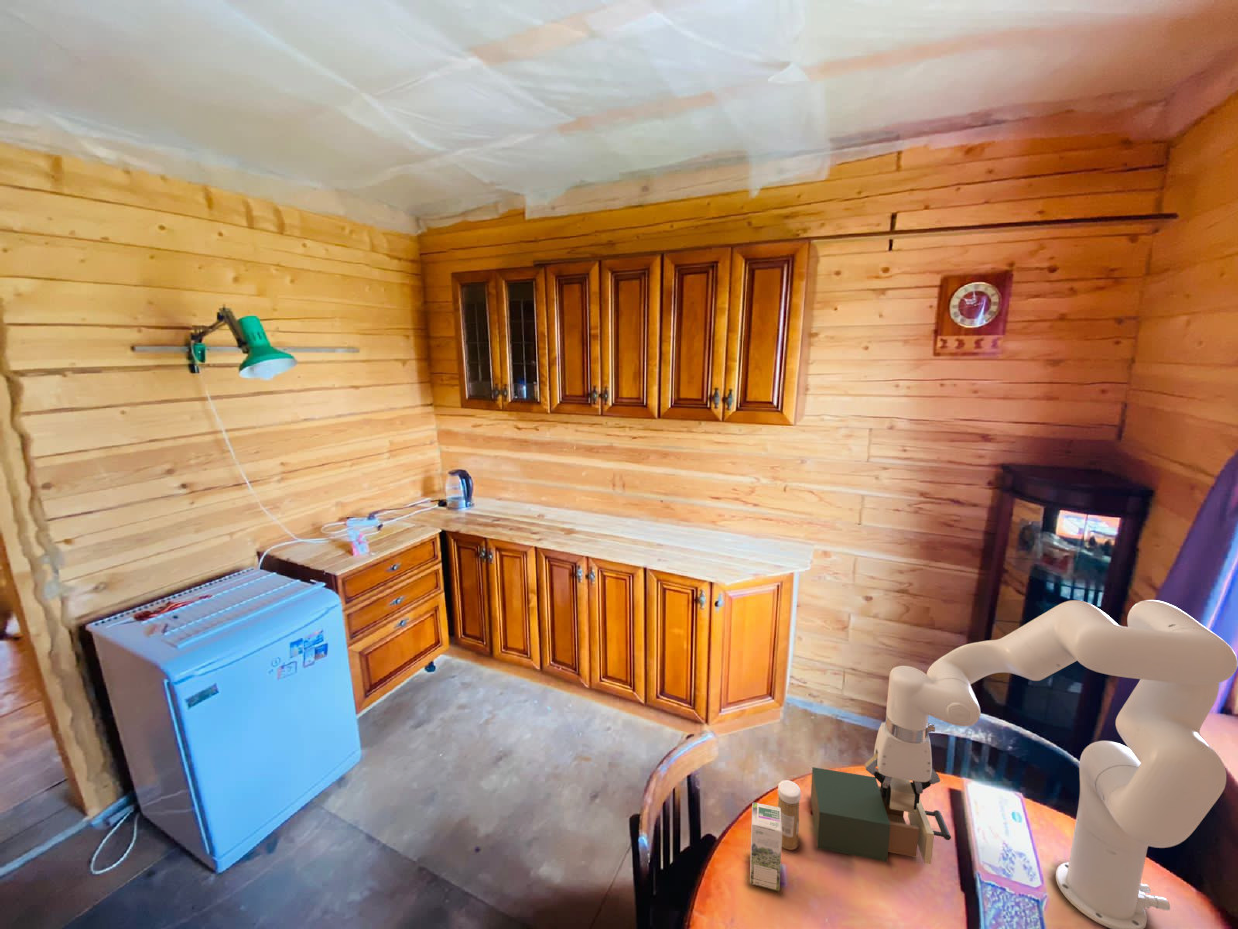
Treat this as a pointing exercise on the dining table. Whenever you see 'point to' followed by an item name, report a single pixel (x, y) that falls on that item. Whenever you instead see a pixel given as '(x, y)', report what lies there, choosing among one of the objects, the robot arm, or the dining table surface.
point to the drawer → (914, 831)
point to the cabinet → (849, 814)
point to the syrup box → (766, 846)
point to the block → (901, 795)
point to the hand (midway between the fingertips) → (898, 801)
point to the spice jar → (789, 812)
